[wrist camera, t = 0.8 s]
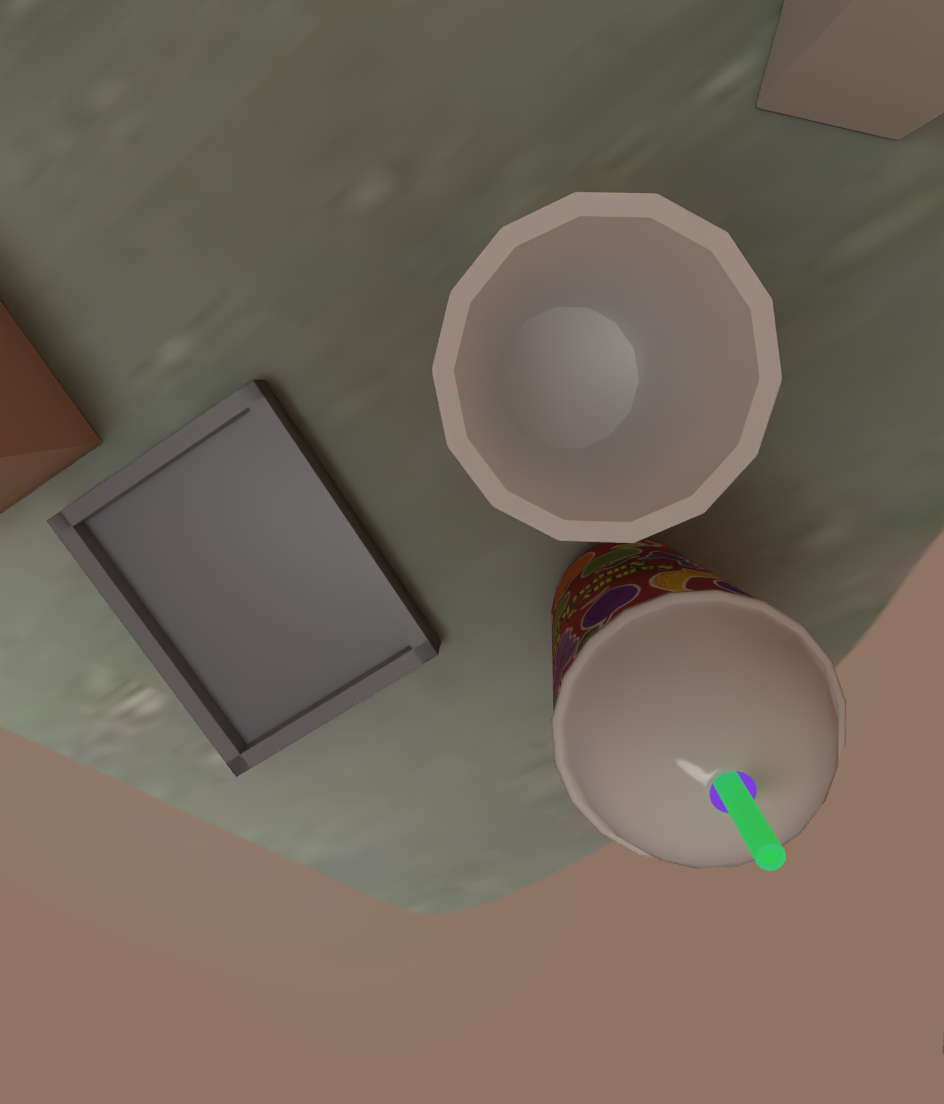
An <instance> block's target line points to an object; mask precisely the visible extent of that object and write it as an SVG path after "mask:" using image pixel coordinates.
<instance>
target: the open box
mask: <svg viewBox="0 0 944 1104" xmlns="http://www.w3.org/2000/svg"><path fill="white" fill-rule="evenodd" d="M101 443H102V442H101V440H100V439H99V438H98V436H97V435H96V433H95V432H94V431H93V429H92V428H91V426H90V425H89V424H88V422H87V421H86V419H85V418H84V417H83V415H82V414H81V412H80V411H79V410H78V408H77V407H76V405H75V404H74V403H73V401H72V400H71V398H70V397H69V396H68V394H67V393H66V391H65V390H64V389H63V387H62V386H61V385H60V383H59V382H58V380H57V379H56V378H55V376H54V375H53V373H52V372H51V371H50V369H49V368H48V366H47V365H46V364H45V362H44V361H43V359H42V358H41V357H40V355H39V354H38V352H37V351H36V350H35V348H34V347H33V345H32V344H31V343H30V341H29V340H28V338H27V337H26V336H25V334H24V333H23V331H22V330H21V329H20V327H19V326H18V324H17V323H16V322H15V320H14V319H13V318H12V316H11V315H10V313H9V312H8V311H7V309H6V308H5V306H4V305H3V304H2V302H1V301H0V513H2V512H3V511H5V510H6V509H8V508H9V507H10V506H12V505H13V504H15V503H16V502H18V501H19V500H21V499H22V498H23V497H25V496H26V495H28V494H29V493H31V492H32V491H34V490H35V489H36V488H38V487H39V486H41V485H42V484H44V483H45V482H47V481H48V480H49V479H51V478H52V477H54V476H55V475H57V474H58V473H60V472H61V471H62V470H64V469H65V468H67V467H68V466H70V465H71V464H73V463H74V462H75V461H77V460H78V459H80V458H81V457H83V456H84V455H86V454H87V453H88V452H90V451H91V450H93V449H94V448H96V447H97V446H99V445H100V444H101Z"/></svg>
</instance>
